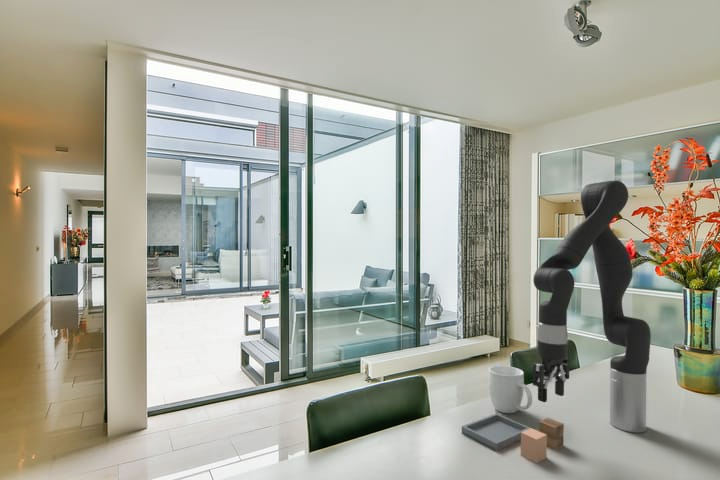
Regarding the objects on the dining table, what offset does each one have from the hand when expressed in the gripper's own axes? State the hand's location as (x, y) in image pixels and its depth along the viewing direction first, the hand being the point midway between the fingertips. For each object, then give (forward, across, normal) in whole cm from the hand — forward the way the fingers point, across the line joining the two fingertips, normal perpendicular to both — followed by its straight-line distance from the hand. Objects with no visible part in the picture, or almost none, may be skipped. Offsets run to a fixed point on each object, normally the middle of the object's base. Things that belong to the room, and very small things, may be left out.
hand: (551, 398), depth 112 cm
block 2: (+13, 0, 0) cm, 13 cm away
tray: (+13, -8, +12) cm, 19 cm away
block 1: (+13, -10, -1) cm, 16 cm away
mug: (+13, +9, +20) cm, 25 cm away
